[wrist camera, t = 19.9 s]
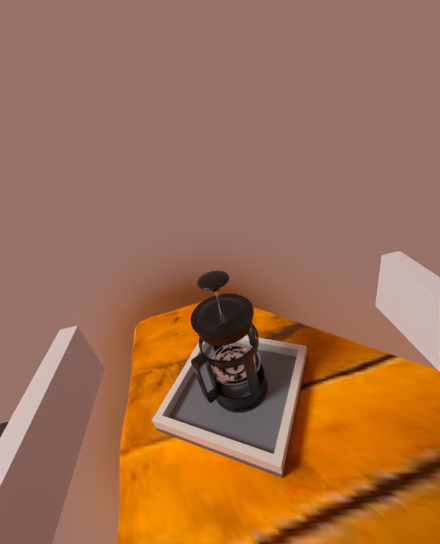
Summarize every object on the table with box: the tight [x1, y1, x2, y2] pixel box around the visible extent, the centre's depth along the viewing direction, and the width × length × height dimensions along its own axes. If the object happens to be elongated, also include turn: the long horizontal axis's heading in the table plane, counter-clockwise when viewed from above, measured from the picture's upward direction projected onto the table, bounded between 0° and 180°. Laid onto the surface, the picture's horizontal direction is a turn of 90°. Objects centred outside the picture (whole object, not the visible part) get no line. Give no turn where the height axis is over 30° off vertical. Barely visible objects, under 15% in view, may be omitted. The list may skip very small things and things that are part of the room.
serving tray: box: [152, 336, 307, 478], centre depth 48 cm, size 20×20×3 cm
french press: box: [191, 271, 268, 413], centre depth 42 cm, size 12×9×23 cm
